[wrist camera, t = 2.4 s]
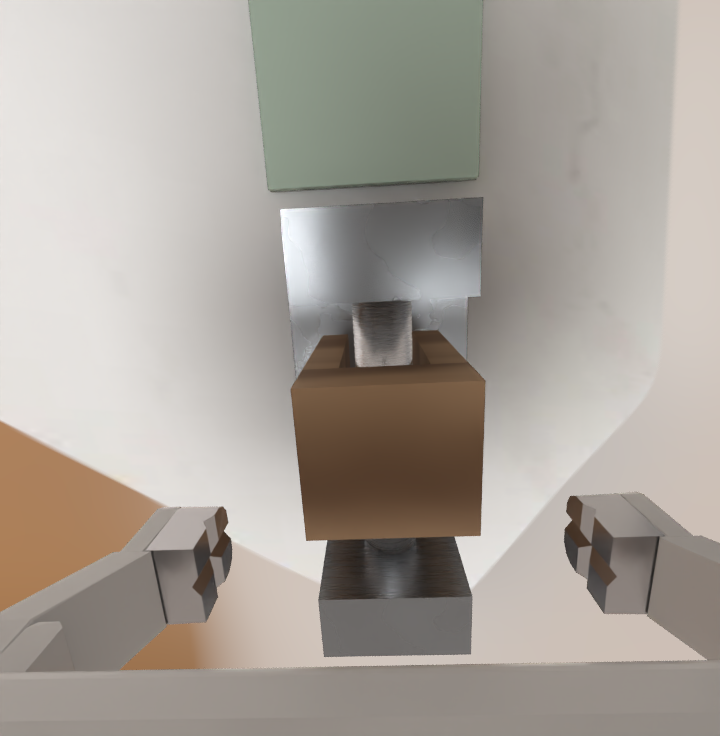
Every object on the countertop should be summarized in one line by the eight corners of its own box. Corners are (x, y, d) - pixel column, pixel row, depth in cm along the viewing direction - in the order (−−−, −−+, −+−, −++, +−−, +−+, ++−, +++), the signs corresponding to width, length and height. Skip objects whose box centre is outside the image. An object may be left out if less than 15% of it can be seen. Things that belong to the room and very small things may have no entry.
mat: (245, -60, 21) (240, -73, 20) (480, -80, 20) (485, -94, 19) (271, 191, 24) (267, 189, 23) (475, 179, 23) (478, 176, 23)
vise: (291, 226, 24) (176, 180, 10) (457, 216, 24) (590, 154, 9) (313, 463, 29) (254, 675, 14) (454, 458, 28) (543, 671, 14)
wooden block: (322, 335, 19) (290, 389, 11) (437, 330, 19) (485, 380, 11) (330, 432, 20) (306, 540, 13) (437, 428, 20) (480, 535, 12)
